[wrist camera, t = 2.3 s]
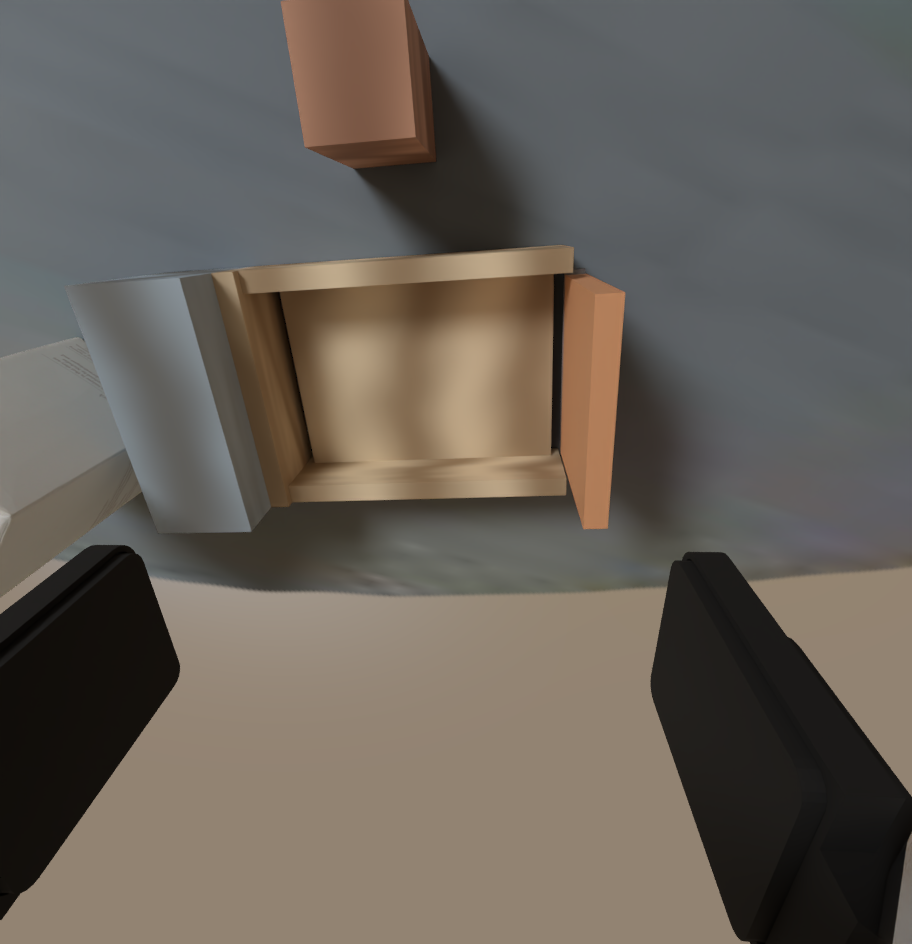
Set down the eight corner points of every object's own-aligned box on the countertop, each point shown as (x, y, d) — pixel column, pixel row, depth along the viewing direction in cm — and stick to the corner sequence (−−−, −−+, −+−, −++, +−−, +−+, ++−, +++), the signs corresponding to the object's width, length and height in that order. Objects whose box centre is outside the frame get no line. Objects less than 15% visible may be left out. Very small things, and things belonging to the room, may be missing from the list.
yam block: (428, 56, 22) (403, -13, 16) (436, 161, 24) (415, 137, 18) (340, 65, 22) (280, 1, 16) (354, 168, 24) (304, 147, 18)
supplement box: (78, 331, 29) (-194, 398, 17) (194, 412, 30) (14, 521, 19) (37, 423, 31) (-221, 534, 20) (145, 493, 33) (-37, 630, 22)
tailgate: (583, 268, 25) (625, 286, 17) (576, 449, 29) (607, 532, 21) (563, 269, 25) (595, 287, 17) (558, 449, 29) (583, 532, 21)
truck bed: (562, 244, 25) (585, 250, 19) (557, 463, 30) (574, 525, 24) (164, 272, 27) (63, 286, 21) (223, 474, 32) (158, 533, 26)
